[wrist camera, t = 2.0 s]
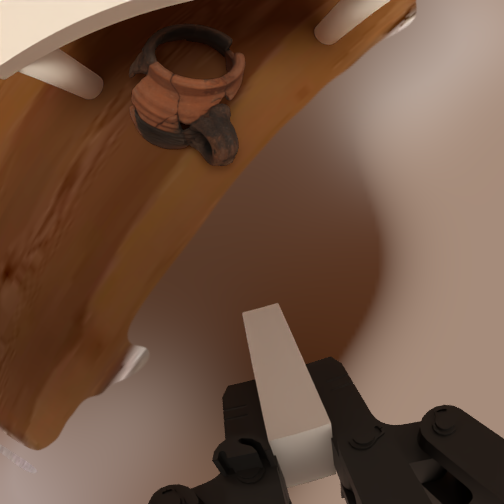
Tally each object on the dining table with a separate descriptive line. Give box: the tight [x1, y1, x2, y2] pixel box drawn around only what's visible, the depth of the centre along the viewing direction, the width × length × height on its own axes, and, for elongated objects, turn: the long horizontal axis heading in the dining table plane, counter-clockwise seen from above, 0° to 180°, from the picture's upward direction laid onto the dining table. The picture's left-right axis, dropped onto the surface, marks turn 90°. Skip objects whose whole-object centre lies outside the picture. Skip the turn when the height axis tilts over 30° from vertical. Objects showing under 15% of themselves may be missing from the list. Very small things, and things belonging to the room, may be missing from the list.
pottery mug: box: [129, 24, 245, 166], centre depth 22 cm, size 12×10×8 cm
